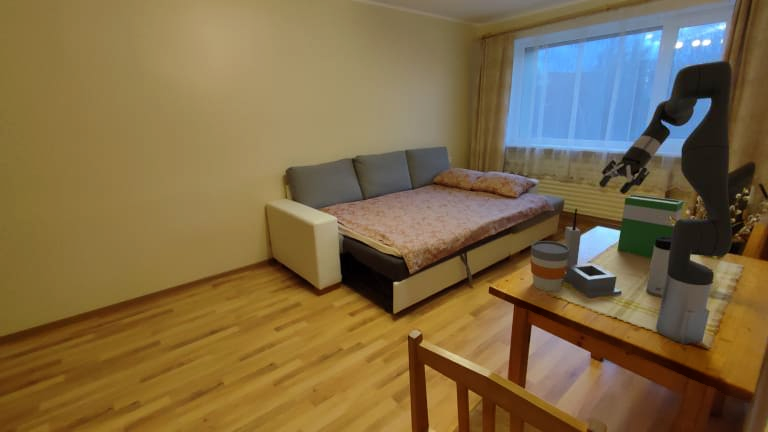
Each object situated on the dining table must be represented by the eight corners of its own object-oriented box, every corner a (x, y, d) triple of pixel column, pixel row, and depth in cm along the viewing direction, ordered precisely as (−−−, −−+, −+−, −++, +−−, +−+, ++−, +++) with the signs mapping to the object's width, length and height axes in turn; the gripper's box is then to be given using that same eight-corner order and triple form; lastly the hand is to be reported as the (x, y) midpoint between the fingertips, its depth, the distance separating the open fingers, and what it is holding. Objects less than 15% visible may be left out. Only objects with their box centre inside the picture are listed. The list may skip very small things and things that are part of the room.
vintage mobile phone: (571, 265, 142) (578, 206, 135) (576, 271, 137) (583, 209, 130) (561, 265, 142) (567, 206, 135) (566, 271, 137) (573, 210, 130)
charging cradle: (621, 294, 119) (623, 279, 117) (589, 298, 118) (591, 282, 116) (588, 273, 134) (590, 260, 133) (559, 277, 133) (561, 263, 131)
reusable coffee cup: (552, 297, 119) (556, 256, 115) (520, 284, 129) (523, 246, 125) (573, 286, 126) (577, 247, 121) (541, 274, 136) (544, 238, 131)
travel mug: (660, 299, 115) (672, 242, 109) (641, 290, 121) (651, 235, 115) (675, 296, 116) (687, 239, 111) (655, 287, 122) (665, 233, 117)
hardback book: (617, 250, 154) (625, 197, 148) (623, 245, 159) (631, 194, 152) (666, 261, 141) (678, 204, 134) (672, 256, 146) (683, 200, 139)
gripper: (618, 142, 128) (589, 179, 130) (656, 149, 116) (623, 189, 118) (628, 154, 132) (599, 189, 134) (666, 161, 119) (634, 200, 121)
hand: (611, 189), depth 126 cm, fingers open, 8 cm apart
